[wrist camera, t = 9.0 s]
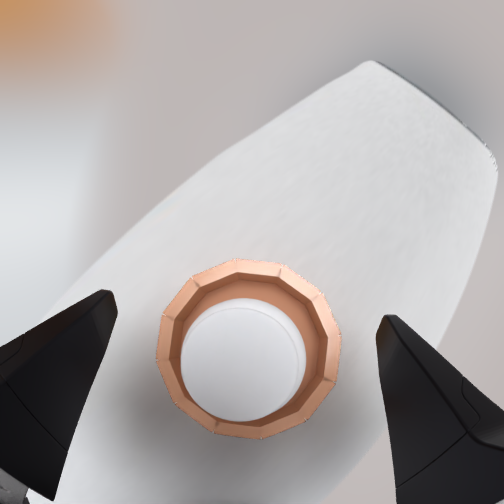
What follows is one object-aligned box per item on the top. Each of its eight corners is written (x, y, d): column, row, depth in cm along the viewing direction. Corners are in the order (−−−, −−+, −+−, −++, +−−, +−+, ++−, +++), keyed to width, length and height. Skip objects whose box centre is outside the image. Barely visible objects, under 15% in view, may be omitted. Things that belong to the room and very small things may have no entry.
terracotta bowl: (350, 384, 19) (365, 391, 16) (209, 442, 18) (200, 458, 15) (289, 249, 21) (294, 233, 18) (151, 305, 20) (134, 300, 17)
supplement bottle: (210, 307, 20) (167, 279, 10) (293, 313, 19) (324, 290, 10) (204, 387, 18) (155, 429, 9) (287, 394, 18) (312, 444, 8)
